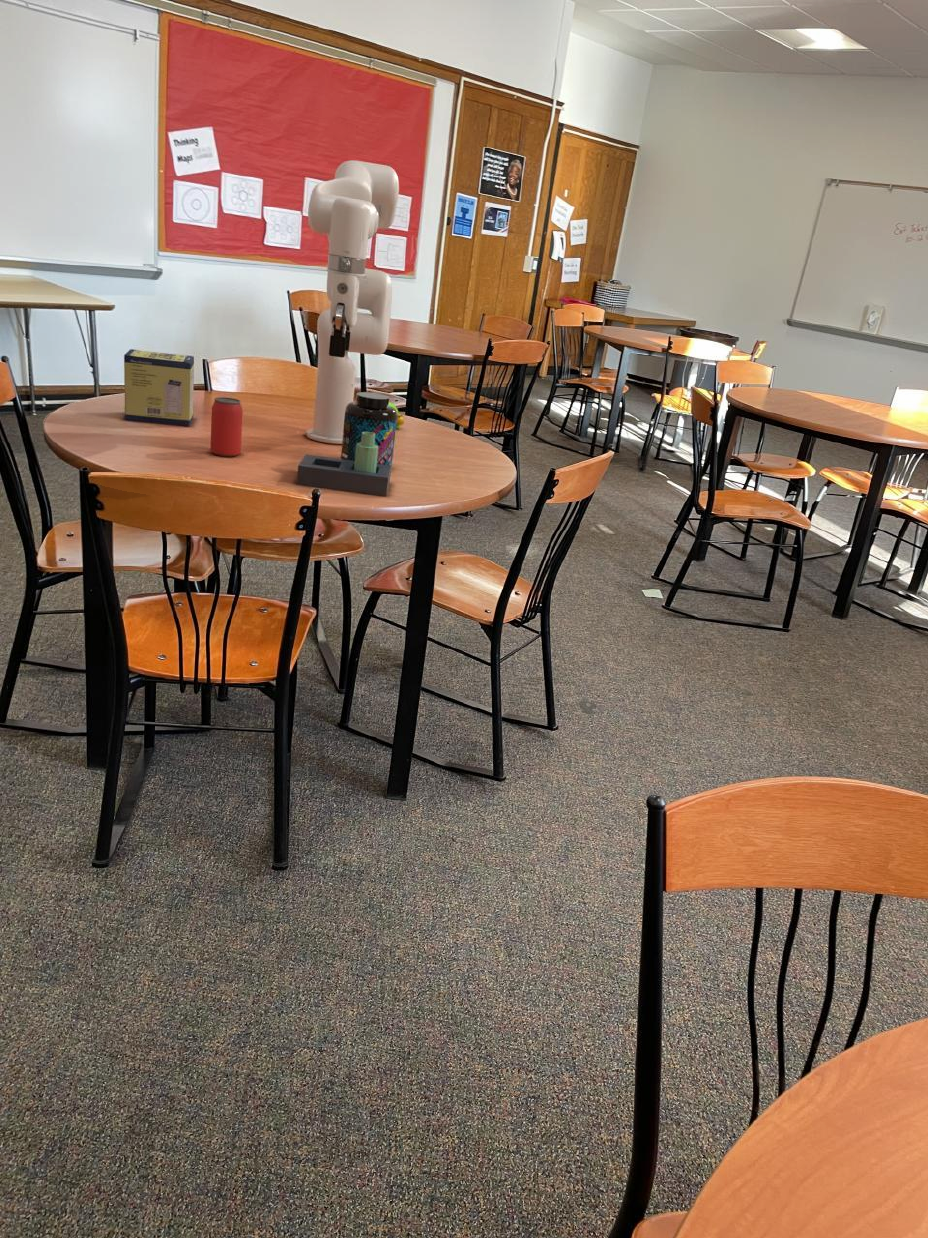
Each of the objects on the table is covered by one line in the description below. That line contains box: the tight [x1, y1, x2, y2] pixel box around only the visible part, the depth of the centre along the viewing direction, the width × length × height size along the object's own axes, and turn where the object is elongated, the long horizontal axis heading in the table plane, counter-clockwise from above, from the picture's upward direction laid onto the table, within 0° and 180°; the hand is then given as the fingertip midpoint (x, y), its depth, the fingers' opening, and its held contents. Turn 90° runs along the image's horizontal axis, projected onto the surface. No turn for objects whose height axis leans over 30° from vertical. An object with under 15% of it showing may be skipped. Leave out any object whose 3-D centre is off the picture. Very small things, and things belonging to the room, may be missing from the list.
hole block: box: [296, 453, 392, 497], centre depth 191 cm, size 11×19×4 cm, turn 91°
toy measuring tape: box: [388, 401, 405, 430], centre depth 255 cm, size 6×20×7 cm, turn 58°
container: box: [340, 391, 397, 467], centre depth 207 cm, size 12×12×17 cm
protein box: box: [123, 348, 195, 427], centre depth 220 cm, size 10×16×16 cm
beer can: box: [209, 396, 244, 458], centre depth 199 cm, size 7×7×12 cm
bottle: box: [354, 432, 379, 473], centre depth 190 cm, size 5×5×12 cm
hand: (339, 353), depth 188 cm, fingers open, 9 cm apart
